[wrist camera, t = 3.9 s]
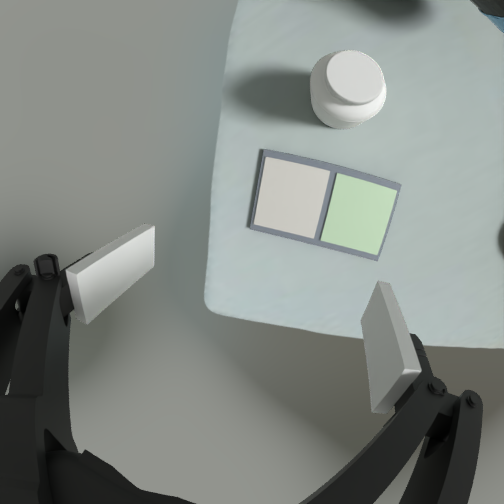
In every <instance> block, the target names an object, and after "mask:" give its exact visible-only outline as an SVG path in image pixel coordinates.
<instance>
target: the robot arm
mask: <svg viewBox="0 0 504 504" xmlns="http://www.w3.org/2000/svg"><path fill="white" fill-rule="evenodd" d="M470 1H471V2H472V3H474V4H475V5H476V6H477V7H478V9H479V11H480V12H481V13H482V14H484V15H485V16H487V17H488V18H489V19H490V20H491V21H492V22H493V23H494V24H495V25H496V26H497V28H498V29H499V30H501V31H502V32H503V33H504V0H470ZM154 229H155V226H153V225H149V224H145V223H144V224H142V225H141V226H139V227H137V228H135V229H133V230H132V231H130V232H128V233H126V234H124V235H123V236H121V237H119V238H117V239H116V240H114V241H112V242H110V243H109V244H107V245H105V246H103V247H102V248H100V249H98V250H97V251H95V252H92V253H89V254H87V255H85V256H84V257H82V258H81V259H79V260H77V261H76V262H74V263H72V264H71V265H69V266H68V267H66V268H64V269H63V270H61V271H60V269H59V263H58V258H57V256H56V255H54V254H44V255H41V256H39V257H37V258H36V259H35V260H34V266H35V271H36V275H37V276H36V275H31V272H30V268H29V266H28V265H22V264H20V265H17V266H15V267H13V268H12V269H11V270H10V271H9V272H8V273H7V274H6V276H5V277H4V278H3V279H2V280H1V282H0V504H195V503H192V502H189V501H187V500H183V499H181V498H178V497H174V496H168V495H162V494H158V493H153V492H148V491H144V490H141V489H139V488H137V487H136V486H135V485H133V484H132V483H131V482H130V481H128V480H127V479H126V478H125V477H124V476H123V475H122V474H120V473H119V472H118V471H117V470H116V469H115V468H114V467H113V466H111V465H109V464H108V463H106V462H104V461H102V460H101V459H100V458H98V457H96V456H95V455H93V454H92V453H90V452H89V451H87V450H84V452H83V453H82V454H81V453H78V450H77V447H76V445H75V442H74V440H73V437H72V432H71V422H70V410H69V388H68V359H69V358H68V357H69V337H70V336H69V335H70V323H71V317H70V312H71V311H72V310H74V311H75V315H76V319H78V320H79V321H81V322H83V323H85V324H88V323H89V322H91V321H92V320H93V319H94V318H95V317H96V316H97V315H98V314H99V313H101V312H102V311H103V310H104V309H105V308H106V307H107V306H109V305H110V304H111V303H112V302H113V301H114V300H115V299H116V298H118V297H119V296H120V295H121V294H122V293H123V292H125V291H126V290H127V289H128V288H129V287H130V286H132V285H133V284H134V283H135V282H136V281H137V280H139V279H140V278H141V277H142V276H143V275H145V274H146V273H147V272H148V271H149V270H151V269H152V268H153V267H154V235H155V234H154V233H155V232H154V231H155V230H154ZM16 301H17V304H18V306H19V307H18V309H17V310H16V309H15V303H16ZM361 325H362V332H363V338H364V345H365V352H366V359H367V368H368V376H369V386H370V395H371V408H372V412H375V413H388V412H389V411H390V410H391V409H392V408H393V406H395V414H394V415H393V416H392V417H391V418H390V419H389V420H388V422H387V423H386V424H385V425H384V426H383V428H382V429H381V430H380V431H379V432H378V433H377V434H376V436H375V437H374V438H373V439H372V440H371V441H370V442H369V443H368V444H367V445H366V446H365V447H364V448H363V449H362V450H361V451H360V452H359V453H358V454H357V455H356V456H355V457H354V458H353V459H352V460H351V461H350V462H349V463H348V464H347V465H346V466H345V467H344V468H343V469H341V470H340V471H339V472H338V473H337V474H336V475H335V476H333V477H332V478H331V479H330V480H329V481H328V482H326V483H325V484H324V485H323V486H322V487H320V488H319V489H318V490H317V491H316V492H314V493H313V494H311V495H310V496H309V497H307V498H306V499H305V500H303V501H302V502H301V503H299V504H373V503H374V502H375V501H376V500H377V499H378V497H379V496H380V495H381V494H382V493H383V492H384V491H385V489H386V488H387V487H388V486H389V485H390V483H391V482H392V481H393V480H394V479H395V477H396V476H397V475H398V473H399V472H400V471H401V469H402V468H403V467H404V465H405V464H406V463H407V461H408V460H409V458H410V457H411V455H412V454H413V453H414V451H415V450H416V448H417V447H418V445H419V444H420V442H421V441H422V439H423V438H424V436H425V439H424V442H423V445H422V449H421V451H420V454H419V457H418V460H417V462H416V465H415V468H414V471H413V473H412V475H411V478H410V480H409V482H408V485H407V487H406V490H405V492H404V494H403V496H402V498H401V500H400V502H399V504H467V503H468V500H469V496H470V492H471V488H472V484H473V479H474V475H475V470H476V465H477V459H478V453H479V446H480V438H481V428H482V413H483V404H482V400H481V398H480V396H479V395H478V394H477V393H475V392H474V391H471V390H465V391H464V392H463V393H462V394H461V395H460V396H459V397H458V396H455V395H452V394H449V393H448V392H447V388H446V386H445V384H444V383H443V382H442V381H441V380H440V379H438V378H436V377H434V376H433V373H432V371H431V367H430V365H429V361H428V359H427V357H426V353H425V351H424V348H423V345H422V342H421V341H420V339H419V338H418V337H417V336H416V334H411V333H409V331H408V328H407V325H406V323H405V320H404V317H403V315H402V312H401V310H400V307H399V305H398V302H397V300H396V297H395V295H394V292H393V290H392V288H391V285H390V283H386V282H382V281H377V284H376V286H375V289H374V291H373V293H372V296H371V298H370V301H369V303H368V305H367V307H366V310H365V312H364V314H363V316H362V319H361ZM10 379H11V380H10ZM9 382H10V388H9V393H8V395H5V392H6V390H7V387H8V384H9Z"/></svg>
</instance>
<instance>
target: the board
mask: <svg viewBox="0 0 504 504" xmlns="http://www.w3.org/2000/svg"><path fill="white" fill-rule="evenodd" d="M400 188H401V184H398V183H395V182H392V181H389V180H386V179H383V178H380V177H376V176H373V175H370V174H367V173H363V172H360V171H356V170H353V169H349V168H346V167H342V166H338V165H334V164H330V163H326V162H322V161H318V160H314V159H310V158H306V157H301V156H297V155H292V154H287V153H282V152H277V151H272V150H267V149H264V151H263V157H262V163H261V168H260V174H259V179H258V185H257V191H256V196H255V202H254V208H253V213H252V219H251V225H250V229H251V230H255V231H260V232H264V233H268V234H272V235H276V236H280V237H284V238H289V239H293V240H297V241H301V242H305V243H309V244H313V245H317V246H321V247H325V248H329V249H333V250H336V251H340V252H344V253H348V254H352V255H356V256H360V257H363V258H367V259H371V260H375V261H378V259H379V256H380V253H381V250H382V248H383V245H384V242H385V239H386V236H387V233H388V229H389V226H390V223H391V220H392V217H393V213H394V210H395V206H396V203H397V199H398V196H399V192H400Z"/></svg>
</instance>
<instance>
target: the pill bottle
mask: <svg viewBox="0 0 504 504" xmlns="http://www.w3.org/2000/svg"><path fill="white" fill-rule="evenodd" d="M310 93H311V104H312V108H313V110H314V112H315V114H316V116H317V117H318V118H319V119H320V120H321V121H322V122H323V123H325V124H326V125H328V126H330V127H332V128H336V129H350V128H354V127H356V126H358V125H359V124H361V123H363V122H365V121H366V120H368V119H370V118H372V117H373V116H374V115H376V114H377V113H378V112H379V111H380V109H381V108H382V106H383V105H384V102H385V99H386V84H385V80H384V77H383V73H382V70H381V69H380V67H379V65H378V64H377V63H376V62H375V61H374V60H373V59H372V58H371V57H370V56H368V55H366V54H364V53H362V52H359V51H354V50H346V51H345V50H344V51H339V52H334V53H330V54H328V55H326V56H324V57H323V58H321V59H320V60H319V61H318V62H317V63H316V64H315V66H314V67H313V69H312V72H311V75H310Z"/></svg>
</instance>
